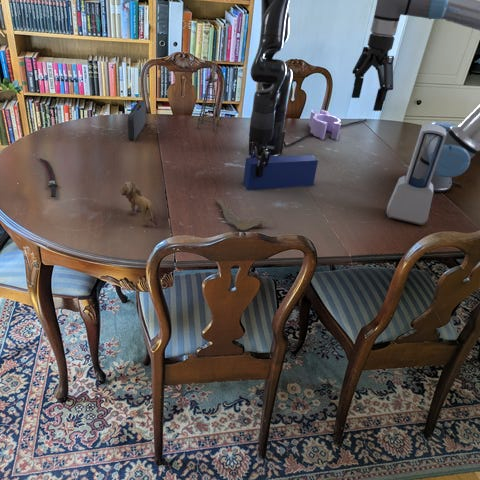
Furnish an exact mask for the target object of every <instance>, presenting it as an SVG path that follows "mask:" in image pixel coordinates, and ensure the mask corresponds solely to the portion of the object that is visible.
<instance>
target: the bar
mask: <svg viewBox="0 0 480 480" xmlns="http://www.w3.org/2000/svg"><path fill="white" fill-rule="evenodd" d="M318 164H319V160H318V159H317V158H316V157H315V156H314V155H313V154H297V155H279V156H274V157H270V158H269V162H268V166H267V167H264V169H263V176H262V177H256V170H257V160H256V159H255V157H253V158H250V157H245V163H244V172H243V182H242V184H243V185H244V187H245V188H246V190H248V191H253V190H267V189H268V190H269V189H280V188H294V187H308V186H309V187H310V186H314V183H315V179H316V173H317V169H318Z"/></svg>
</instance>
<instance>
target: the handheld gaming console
mask: <svg viewBox="0 0 480 480" xmlns="http://www.w3.org/2000/svg"><path fill="white" fill-rule="evenodd" d="M146 103H147V102H146V100H144V99H143V100H142V99H140V100H138V102H137V103H135V105H134V107H133V108H132V109H131V110H130V112H129V113H128V115H127V138H128V140H130V141H135V140H137V138H138V136H139V134H140V133H141V132H142V130H143V128H144V126H145V125H146V122H147V107H146V106H147V104H146Z"/></svg>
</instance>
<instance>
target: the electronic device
mask: <svg viewBox="0 0 480 480" xmlns="http://www.w3.org/2000/svg"><path fill="white" fill-rule="evenodd" d="M428 134H434V135H437V136H439V137H438V140H437V143H436V146H435V149H434V152H433V155H432V158H431V161H430V164H429V167H428V170H427V173H426V176H425V179H418V178H415V177H412V175H413V172H414V169H415V166H416V165H417V163H418V161H419V160H418V159H419V158H420V157H419V156H420V155H421V152H422V147H423V144H424V141H425V139H426V136H427V135H428ZM445 139H446V129H445V128H443V127H442V126H439V125H436V124H432V123H424V124H422V125H421V127H420V132H419V134H418V138H417V141H416V144H415V147H414V150H413V152H412V156H411V160H410V163H409V165H408V170H407V171H406V172H407V173H406V175H403V176H400V177H399V178H398V180H397V182H396V184H395V187H394V190H393V192H392V194H391V196H390V198H389V201H388V204H387V205H386V206H387V207H386V215H387V217H388V218H389V219H393V220H398V221H400V222H401V221H402V222H406V223H410V224H414V225H419V226H423V225H424V224H425V225H426V224H427V222H428V219H429V215H430V212H431V211H430V210H431V206H432V201H433V197H434V192H433V184H432V183H431V179H432V176H433V173H434V170H435V168H436V165H437V162H438V159H439V156H440V153H441V150H442V147H443V144H444V142H445Z"/></svg>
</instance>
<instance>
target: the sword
mask: <svg viewBox="0 0 480 480" xmlns="http://www.w3.org/2000/svg"><path fill="white" fill-rule="evenodd" d="M40 161H41V162H42V163H43V165H44V166H45V169H46V173H47V176H48V185H47V188H50V198H56V197H57V189H56V188H57V187H59V185H58V184H57V183H56V180H55V176H54V172H53V169H52V167H51V164H50V163H49V161H48V160H46V159H43V158H40Z"/></svg>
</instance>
